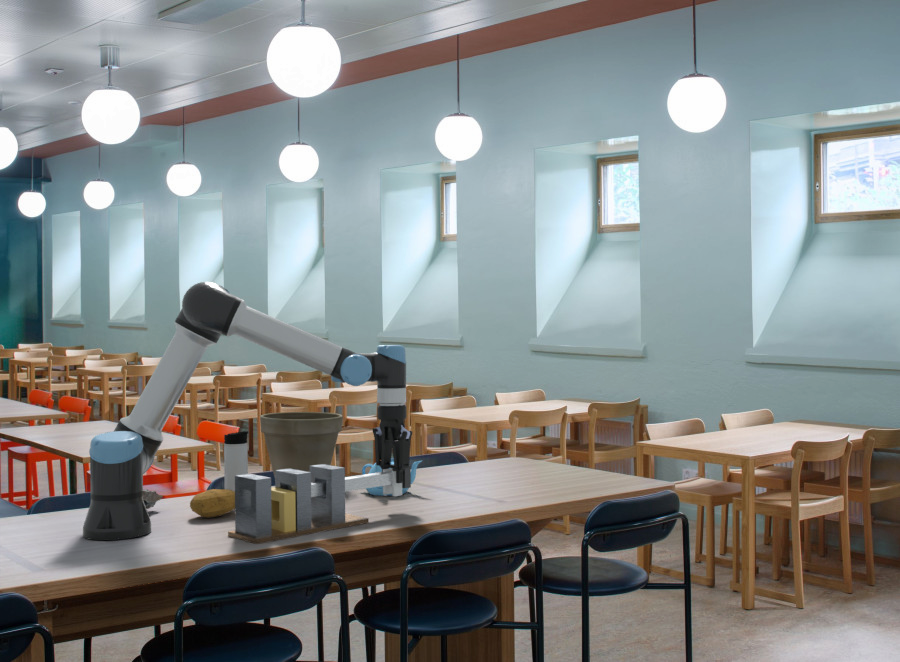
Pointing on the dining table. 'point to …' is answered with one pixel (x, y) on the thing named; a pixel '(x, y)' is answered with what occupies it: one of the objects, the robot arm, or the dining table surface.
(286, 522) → the spacer
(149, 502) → the mineral specimen
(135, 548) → the dining table surface
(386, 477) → the shaft
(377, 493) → the teapot
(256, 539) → the bearing rail
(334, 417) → the plant pot
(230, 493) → the potato
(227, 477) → the travel mug
